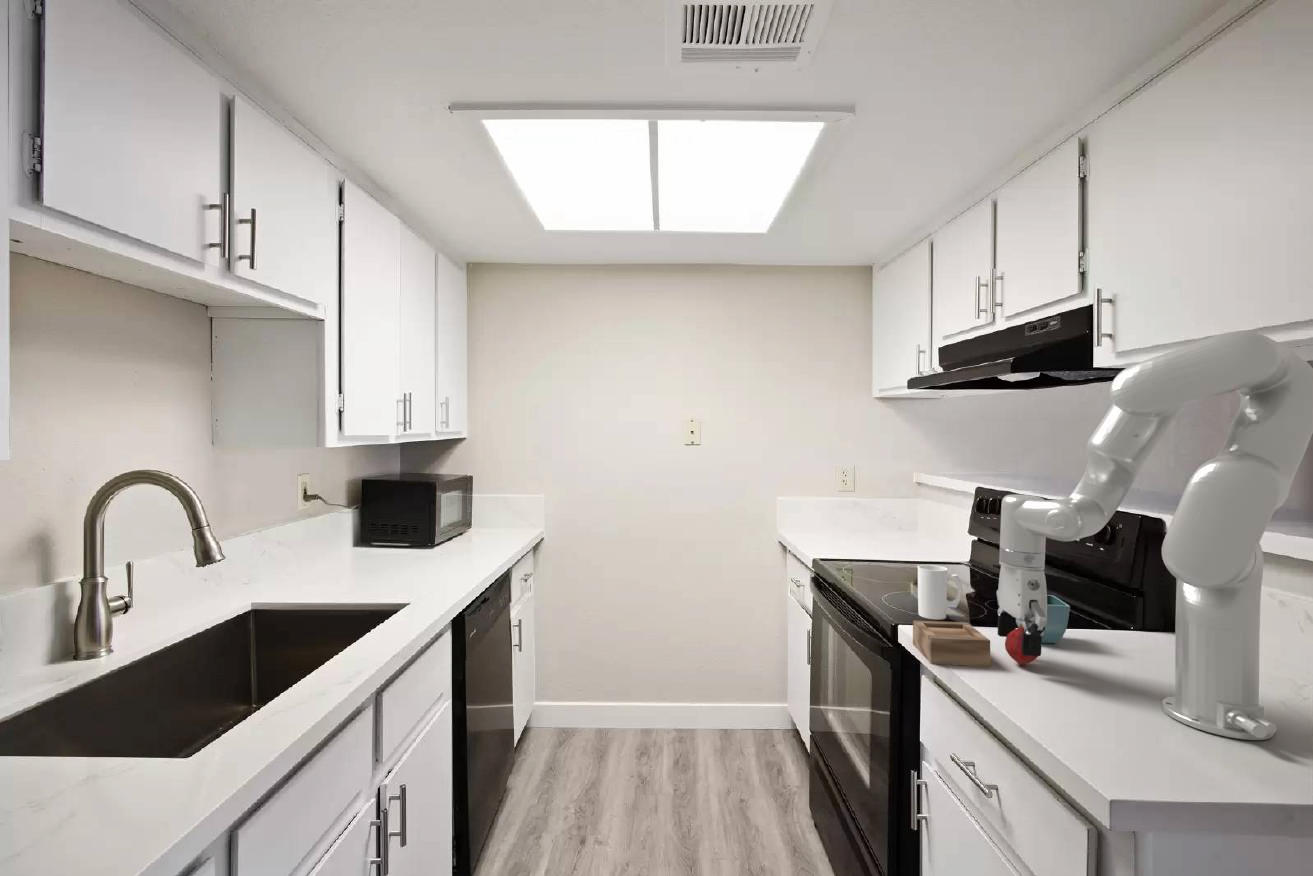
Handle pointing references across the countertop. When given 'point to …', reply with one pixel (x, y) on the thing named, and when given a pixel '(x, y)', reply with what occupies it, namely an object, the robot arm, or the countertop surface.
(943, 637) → the open walnut box
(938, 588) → the mug
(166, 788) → the countertop surface
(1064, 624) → the flower pot
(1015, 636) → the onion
